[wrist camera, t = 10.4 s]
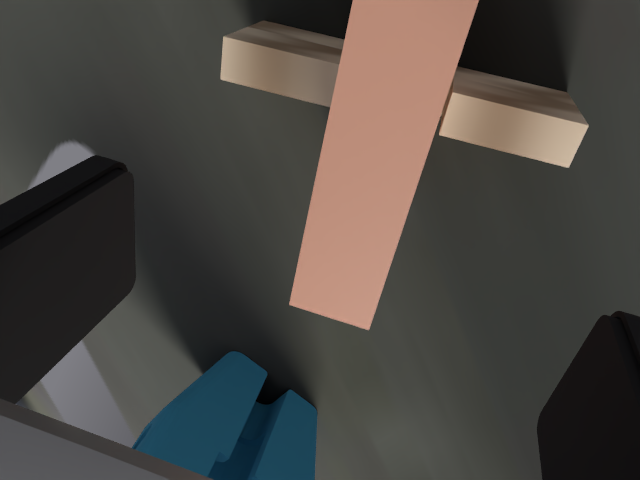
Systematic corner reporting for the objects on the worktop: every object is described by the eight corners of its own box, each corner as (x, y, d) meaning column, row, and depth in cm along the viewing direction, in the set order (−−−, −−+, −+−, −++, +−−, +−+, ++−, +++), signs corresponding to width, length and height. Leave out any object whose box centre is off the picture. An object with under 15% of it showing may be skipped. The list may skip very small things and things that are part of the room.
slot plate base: (567, 92, 24) (588, 125, 20) (551, 129, 25) (568, 167, 20) (263, 20, 25) (223, 36, 21) (259, 57, 26) (220, 79, 22)
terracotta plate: (482, -56, 22) (495, -50, 12) (404, 190, 28) (368, 330, 18) (414, -72, 22) (369, -80, 12) (351, 175, 28) (289, 304, 18)
